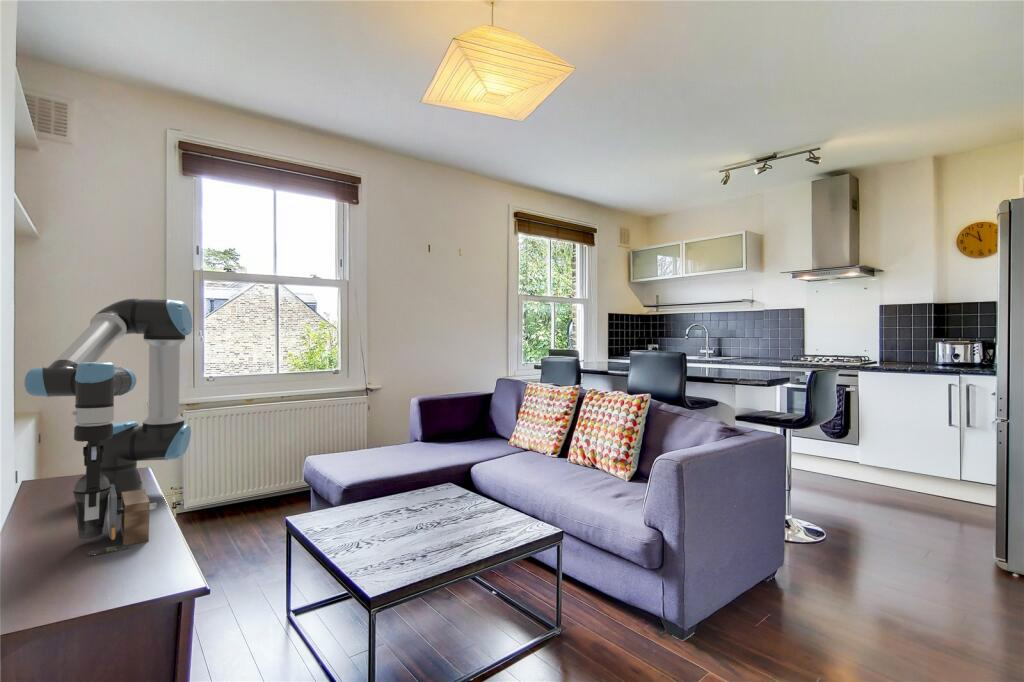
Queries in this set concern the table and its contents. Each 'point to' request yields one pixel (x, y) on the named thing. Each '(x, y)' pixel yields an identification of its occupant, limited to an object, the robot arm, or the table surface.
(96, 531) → the beverage cup
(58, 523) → the table surface
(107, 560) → the table surface
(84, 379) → the robot arm
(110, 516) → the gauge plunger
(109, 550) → the brown boxy piece
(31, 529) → the table surface
